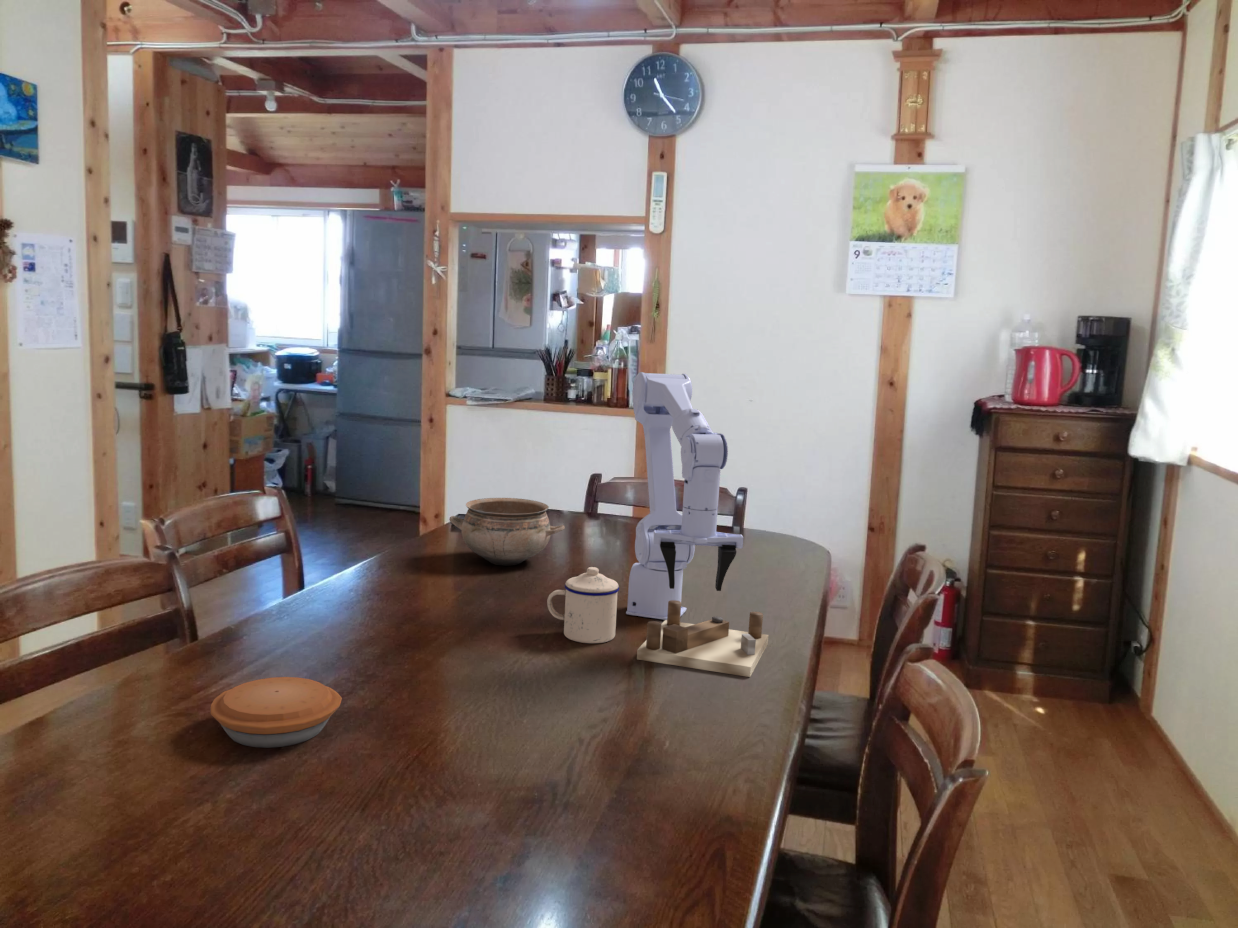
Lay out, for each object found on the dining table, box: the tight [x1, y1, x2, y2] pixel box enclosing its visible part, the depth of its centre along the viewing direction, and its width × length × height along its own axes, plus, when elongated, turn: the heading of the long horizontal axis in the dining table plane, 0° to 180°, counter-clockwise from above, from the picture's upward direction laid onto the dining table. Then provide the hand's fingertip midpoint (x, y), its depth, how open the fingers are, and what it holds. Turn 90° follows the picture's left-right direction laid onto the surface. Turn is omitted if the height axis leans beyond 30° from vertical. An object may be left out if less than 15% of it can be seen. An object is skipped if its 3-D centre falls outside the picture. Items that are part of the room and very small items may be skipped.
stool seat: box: [636, 600, 770, 678], centre depth 163 cm, size 18×17×6 cm
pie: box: [210, 676, 343, 749], centre depth 126 cm, size 15×16×5 cm
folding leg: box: [662, 615, 730, 653], centre depth 163 cm, size 14×3×4 cm, turn 137°
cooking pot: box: [449, 497, 566, 566], centre depth 214 cm, size 25×19×12 cm
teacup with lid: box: [546, 566, 620, 644], centre depth 168 cm, size 12×9×12 cm
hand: (694, 588), depth 166 cm, fingers open, 7 cm apart
